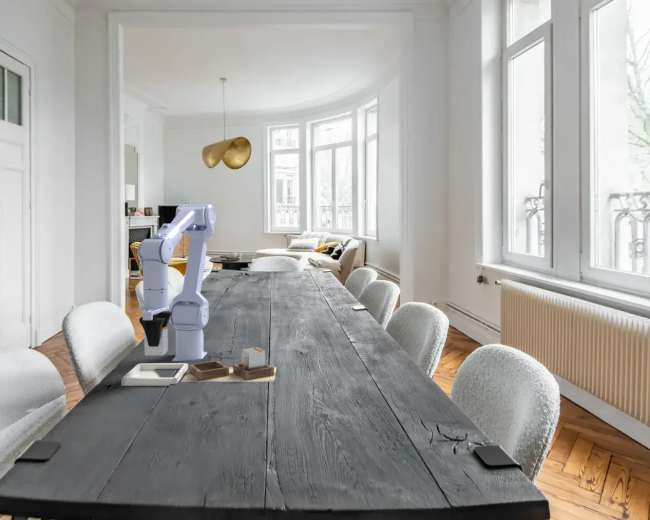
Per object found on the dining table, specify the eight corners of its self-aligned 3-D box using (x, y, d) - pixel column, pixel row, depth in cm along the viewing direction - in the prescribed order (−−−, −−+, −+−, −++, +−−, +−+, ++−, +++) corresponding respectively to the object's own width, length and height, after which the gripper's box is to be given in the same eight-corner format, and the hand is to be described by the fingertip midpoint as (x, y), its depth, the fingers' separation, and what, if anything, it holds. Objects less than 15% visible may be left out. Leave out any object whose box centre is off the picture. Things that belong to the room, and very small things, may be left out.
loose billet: (150, 350, 124) (149, 326, 123) (168, 350, 124) (167, 326, 124) (144, 355, 119) (144, 329, 119) (163, 355, 120) (162, 329, 119)
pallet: (191, 370, 130) (191, 359, 129) (276, 370, 131) (276, 359, 131) (180, 385, 118) (180, 373, 117) (274, 385, 119) (274, 373, 119)
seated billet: (241, 372, 125) (241, 348, 125) (257, 370, 127) (257, 346, 127) (248, 377, 121) (248, 352, 121) (265, 374, 124) (265, 350, 123)
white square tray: (138, 371, 128) (138, 363, 128) (188, 371, 129) (188, 363, 129) (121, 388, 116) (121, 378, 115) (176, 387, 116) (176, 378, 116)
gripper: (147, 284, 127) (148, 336, 129) (128, 292, 113) (129, 351, 114) (175, 284, 128) (176, 336, 129) (160, 293, 113) (161, 351, 114)
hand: (156, 343), depth 122 cm, fingers closed on loose billet, 4 cm apart
